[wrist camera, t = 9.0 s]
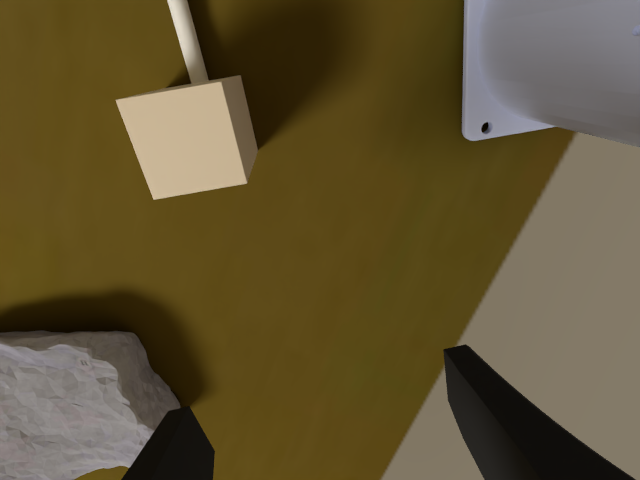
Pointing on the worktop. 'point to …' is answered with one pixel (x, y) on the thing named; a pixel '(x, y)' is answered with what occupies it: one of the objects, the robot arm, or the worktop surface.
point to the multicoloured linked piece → (191, 125)
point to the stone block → (75, 403)
